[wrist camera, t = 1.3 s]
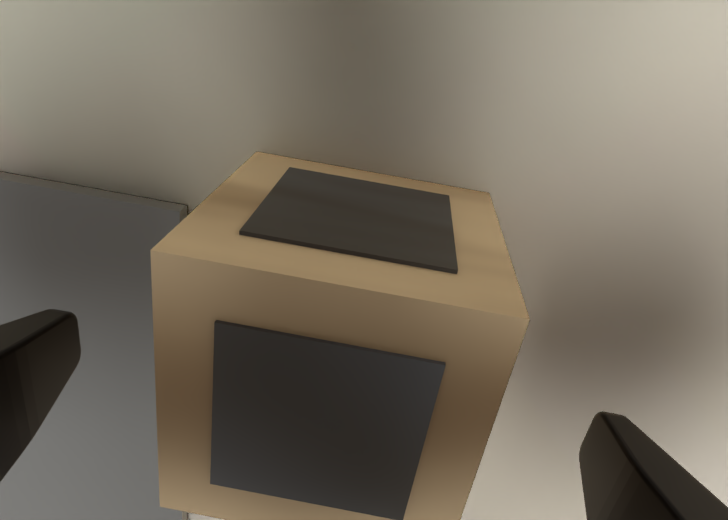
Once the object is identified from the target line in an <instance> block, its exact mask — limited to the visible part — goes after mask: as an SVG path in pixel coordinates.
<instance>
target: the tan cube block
mask: <svg viewBox="0 0 728 520" xmlns="http://www.w3.org/2000/svg"><path fill="white" fill-rule="evenodd" d="M150 252H151V280H152V307H153V335H154V362H155V390H156V417H157V445H158V472H159V500H160V507H164V508H169V509H174V510H179V511H184V512H189V513H194V514H200V515H205V516H210V517H215V518H220V519H225V520H460V519H461V516H462V513H463V510H464V507H465V504H466V502H467V499H468V496H469V493H470V490H471V487H472V484H473V481H474V479H475V476H476V473H477V470H478V467H479V464H480V461H481V459H482V456H483V453H484V450H485V447H486V444H487V441H488V438H489V436H490V433H491V430H492V427H493V424H494V421H495V418H496V416H497V413H498V410H499V407H500V404H501V401H502V398H503V395H504V393H505V390H506V387H507V384H508V381H509V378H510V375H511V373H512V370H513V367H514V364H515V361H516V358H517V355H518V352H519V350H520V347H521V344H522V341H523V338H524V335H525V332H526V330H527V327H528V324H529V321H530V318H529V315H528V312H527V309H526V306H525V303H524V299H523V296H522V293H521V290H520V287H519V284H518V281H517V278H516V275H515V272H514V268H513V265H512V262H511V259H510V256H509V253H508V250H507V247H506V244H505V241H504V237H503V234H502V231H501V228H500V225H499V222H498V219H497V216H496V213H495V209H494V206H493V203H492V200H491V197H490V194H489V193H486V192H481V191H475V190H470V189H464V188H458V187H453V186H447V185H442V184H436V183H430V182H425V181H419V180H413V179H408V178H402V177H397V176H391V175H385V174H380V173H374V172H368V171H363V170H357V169H352V168H346V167H340V166H335V165H329V164H324V163H318V162H312V161H307V160H301V159H295V158H290V157H284V156H279V155H273V154H267V153H262V152H256V153H254V154H253V155H252V156H251V157H250V158H249V159H248V160H247V161H246V162H245V163H244V164H243V165H242V166H240V167H239V168H238V169H237V170H236V171H235V172H234V173H233V174H232V175H231V176H230V177H229V178H228V179H226V180H225V181H224V182H223V183H222V184H221V185H220V186H219V187H218V188H217V189H216V190H215V191H214V192H212V193H211V194H210V195H209V196H208V197H207V198H206V199H205V200H204V201H203V202H202V203H201V204H200V205H198V206H197V207H196V208H195V209H194V210H193V211H192V212H191V213H190V214H189V215H188V216H187V217H186V218H184V219H183V220H182V221H181V222H180V223H179V224H178V225H177V226H176V227H175V228H174V229H173V230H172V231H170V232H169V233H168V234H167V235H166V236H165V237H164V238H163V239H162V240H161V241H160V242H159V243H158V244H156V245H155V246H154V247H153V248H152V249H151V250H150Z"/></svg>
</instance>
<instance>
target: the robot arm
mask: <svg viewBox="0 0 728 520" xmlns="http://www.w3.org/2000/svg"><path fill="white" fill-rule="evenodd" d="M80 357H81V345H80V336H79V327H78V320H77V317H76V315H75V314H73V313H72V312H68V311H62V310H57V309H47V310H44V311H41V312H38V313H35V314H32V315H29V316H26V317H23V318H20V319H17V320H14V321H11V322H8V323H5V324H2V325H0V482H1V481H2V479H3V478H4V477H5V475H6V474H7V473H8V471H9V470H10V469H11V467H12V466H13V465H14V464H15V462H16V461H17V460H18V458H19V457H20V456H21V454H22V453H23V452H24V450H25V449H26V447H27V446H28V445H29V443H30V442H31V440H32V439H33V437H34V436H35V434H36V433H37V431H38V430H39V428H40V427H41V425H42V423H43V422H44V420H45V418H46V417H47V415H48V413H49V412H50V410H51V408H52V407H53V405H54V403H55V402H56V400H57V399H58V397H59V395H60V394H61V392H62V390H63V389H64V387H65V385H66V384H67V382H68V380H69V379H70V377H71V375H72V374H73V372H74V370H75V369H76V367H77V365H78V363H79V361H80ZM579 462H580V469H581V477H582V485H583V492H584V500H585V507H586V515H587V520H728V507H727V506H726V505H725V504H723V503H722V502H721V501H720V500H719V499H718V498H717V497H716V496H714V495H713V494H712V493H711V492H710V491H709V490H708V489H707V488H705V487H704V486H703V485H702V484H701V483H700V482H699V481H698V480H696V479H695V478H694V477H693V476H692V475H691V474H690V473H689V472H687V471H686V470H685V469H684V468H683V467H682V466H681V465H680V464H678V463H677V462H676V461H675V460H674V459H673V458H672V457H671V456H669V455H668V454H667V453H666V452H665V451H664V450H663V449H662V448H660V447H659V446H658V445H657V444H656V443H655V442H654V441H653V440H651V439H650V438H649V437H648V436H647V435H646V434H645V433H644V432H642V431H641V430H640V429H639V428H638V427H637V426H636V425H634V424H633V423H632V422H631V421H630V420H629V419H628V418H626V417H625V416H623V415H619V414H614V413H609V412H603V411H602V412H599V413H597V414H596V415H595V417H594V418H593V420H592V423H591V425H590V427H589V429H588V431H587V434H586V436H585V438H584V440H583V442H582V445H581V448H580V453H579Z"/></svg>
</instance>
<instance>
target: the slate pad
mask: <svg viewBox="0 0 728 520" xmlns="http://www.w3.org/2000/svg"><path fill="white" fill-rule="evenodd" d="M186 217H187V205H183V204H177V203H172V202H166V201H161V200H155V199H150V198H144V197H138V196H133V195H127V194H122V193H116V192H111V191H105V190H100V189H94V188H89V187H83V186H78V185H72V184H67V183H61V182H56V181H50V180H44V179H39V178H33V177H28V176H22V175H17V174H11V173H6V172H0V325H2V324H5V323H8V322H11V321H14V320H17V319H20V318H23V317H26V316H29V315H32V314H35V313H38V312H41V311H44V310H47V309H57V310H62V311H68V312H72V313H73V314H75V315H76V317H77V320H78V327H79V336H80V345H81V357H80V361H79V363H78V365H77V367H76V369H75V370H74V372H73V374H72V375H71V377H70V379H69V380H68V382H67V384H66V385H65V387H64V389H63V390H62V392H61V394H60V395H59V397H58V399H57V400H56V402H55V403H54V405H53V407H52V408H51V410H50V412H49V413H48V415H47V417H46V418H45V420H44V422H43V423H42V425H41V427H40V428H39V430H38V431H37V433H36V434H35V436H34V437H33V439H32V440H31V442H30V443H29V445H28V446H27V447H26V449H25V450H24V452H23V453H22V454H21V456H20V457H19V458H18V460H17V461H16V462H15V464H14V465H13V466H12V467H11V469H10V470H9V471H8V473H7V474H6V475H5V477H4V478H3V479H2V481H1V482H0V520H188V512H184V511H179V510H174V509H169V508H164V507H160V500H159V472H158V445H157V417H156V390H155V362H154V335H153V307H152V280H151V252H150V250H151V249H152V248H153V247H154V246H155V245H156V244H158V243H159V242H160V241H161V240H162V239H163V238H164V237H165V236H166V235H167V234H168V233H169V232H170V231H172V230H173V229H174V228H175V227H176V226H177V225H178V224H179V223H180V222H181V221H182V220H183V219H184V218H186Z"/></svg>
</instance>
